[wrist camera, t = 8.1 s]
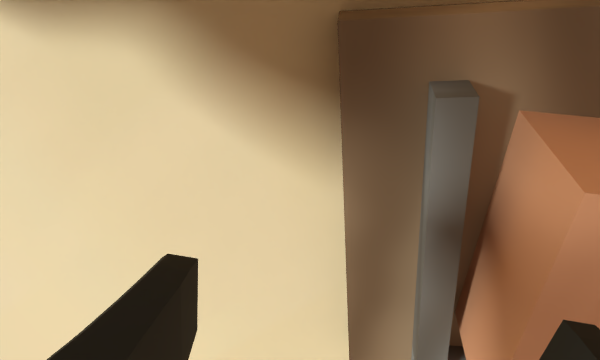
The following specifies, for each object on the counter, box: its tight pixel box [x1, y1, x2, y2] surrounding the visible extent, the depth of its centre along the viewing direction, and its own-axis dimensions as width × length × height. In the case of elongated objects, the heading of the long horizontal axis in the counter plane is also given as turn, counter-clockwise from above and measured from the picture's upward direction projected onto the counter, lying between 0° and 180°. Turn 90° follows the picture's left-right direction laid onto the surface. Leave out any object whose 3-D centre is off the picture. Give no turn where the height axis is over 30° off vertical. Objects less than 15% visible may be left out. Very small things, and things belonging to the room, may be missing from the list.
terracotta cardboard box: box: [455, 110, 600, 360], centre depth 15 cm, size 4×9×5 cm, turn 177°
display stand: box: [338, 0, 600, 360], centre depth 17 cm, size 14×16×3 cm
